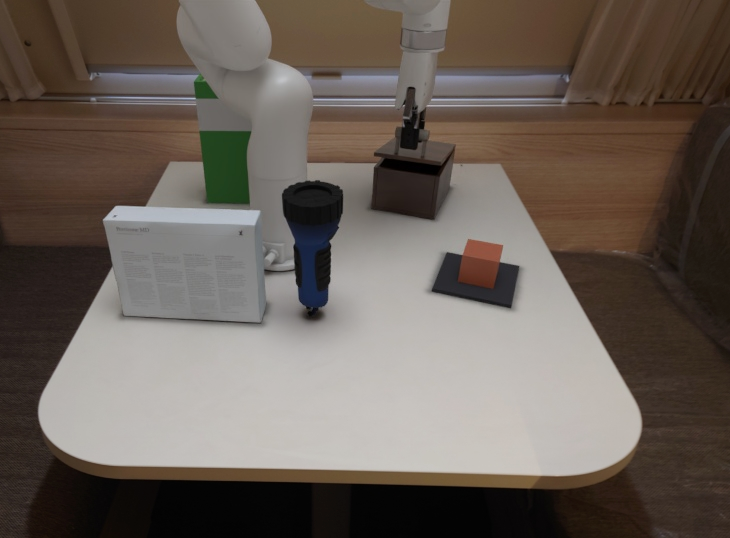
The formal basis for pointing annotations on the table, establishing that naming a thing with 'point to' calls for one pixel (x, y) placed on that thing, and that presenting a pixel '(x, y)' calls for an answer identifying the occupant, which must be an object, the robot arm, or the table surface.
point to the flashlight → (313, 236)
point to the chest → (411, 186)
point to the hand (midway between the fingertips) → (411, 144)
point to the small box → (480, 263)
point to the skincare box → (188, 262)
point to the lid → (423, 154)
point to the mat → (496, 296)
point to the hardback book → (222, 147)
